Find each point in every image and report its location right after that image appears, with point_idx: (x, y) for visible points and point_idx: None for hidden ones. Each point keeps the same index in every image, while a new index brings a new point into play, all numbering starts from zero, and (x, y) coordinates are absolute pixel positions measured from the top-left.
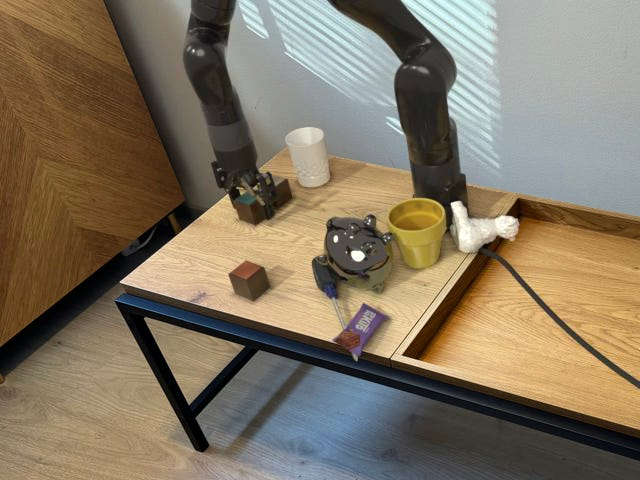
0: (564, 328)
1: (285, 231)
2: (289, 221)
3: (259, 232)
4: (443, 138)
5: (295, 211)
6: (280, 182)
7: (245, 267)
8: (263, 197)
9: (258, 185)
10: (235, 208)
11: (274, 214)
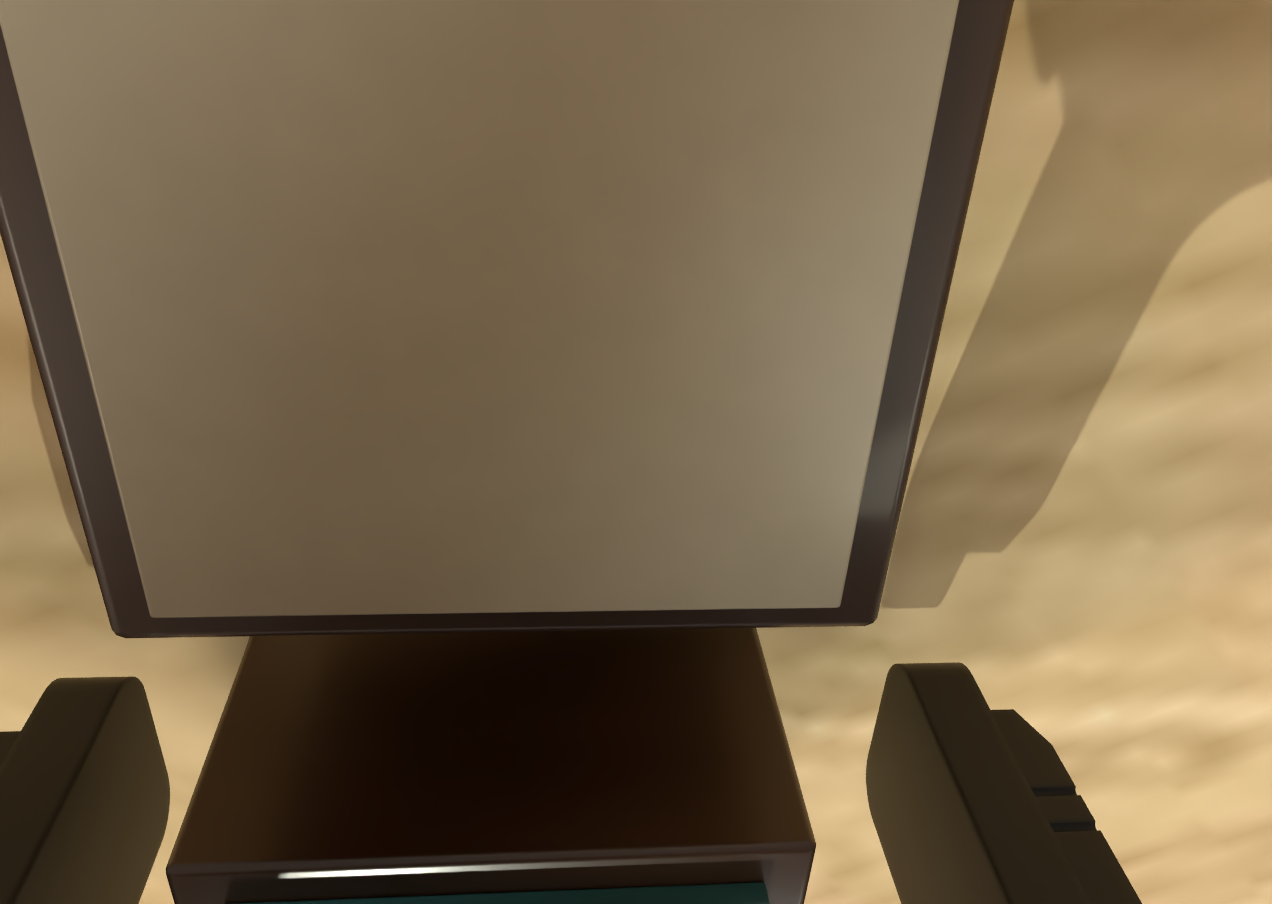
0: None
1: (1201, 695)
2: (1157, 510)
3: (841, 839)
4: None
5: (1137, 237)
6: (916, 206)
7: None
8: (805, 890)
9: (210, 629)
10: (157, 841)
11: (1026, 733)
